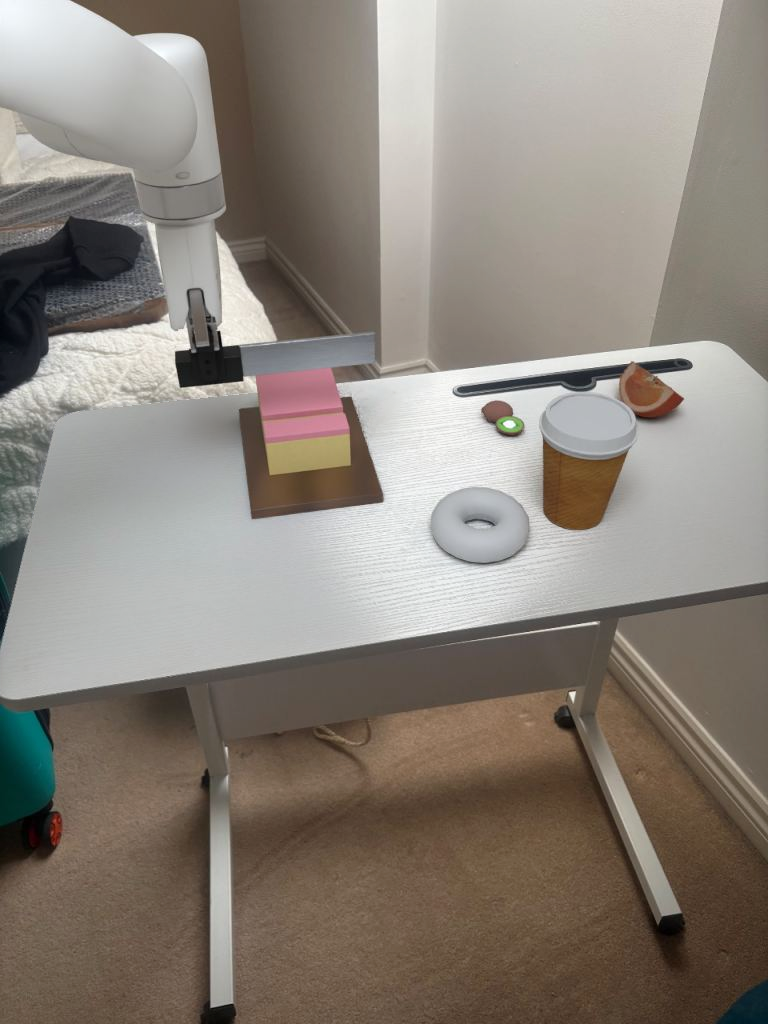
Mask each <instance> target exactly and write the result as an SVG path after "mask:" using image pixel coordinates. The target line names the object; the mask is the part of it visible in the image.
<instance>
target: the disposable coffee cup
mask: <svg viewBox="0 0 768 1024" xmlns="http://www.w3.org/2000/svg"><path fill="white" fill-rule="evenodd" d="M538 427H539V430H540V433H541V436H542V503H543V504H542V506H543V507H542V511H543V514H544V515H545V517H546V518H547V519H548V520H549V521H550V522H551V523H553V524H554V525H556V526H558V527H561V528H564V529H567V530H573V531H583V530H590V529H592V528H595V527H597V526H599V524H600V523H601V522H602V521H603V519H604V517H605V514H606V510H607V508H608V506H609V503H610V500H611V497H612V495H613V493H614V490H615V487H616V485H617V482H618V479H619V478H620V474H621V472H622V470H623V467H624V465H625V461H626V459H627V456H628V453H629V451H630V449H632V447H633V446H634V444H635V443H636V442H637V440H638V437H639V434H640V433H639V427H638V423H637V419H636V414H635V413H633V411H632V410H631V409H630V408H629V407H628V406H627V405H626V404H624V403H623V401H622V400H619V399H617V398H616V397H613V396H610V395H608V394H607V395H606V394H603V393H600V392H599V393H598V392H591V391H573V392H568V393H564V394H561V395H558V396H556V397H554V398H553V399H551V400H550V402H548V404H547V405H546V407H545V410H544V411H542V413H541V414H540V417H539V420H538Z"/></svg>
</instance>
